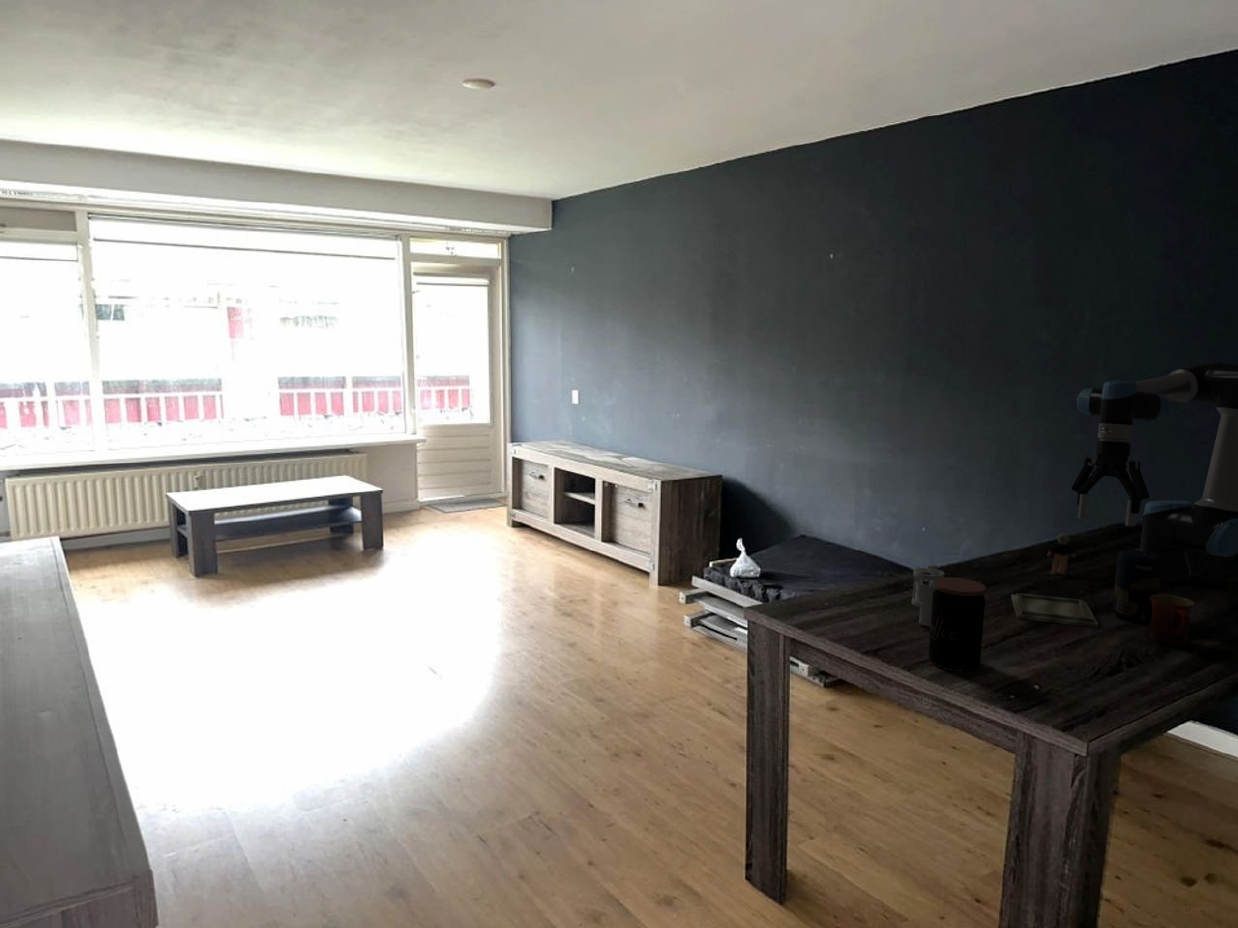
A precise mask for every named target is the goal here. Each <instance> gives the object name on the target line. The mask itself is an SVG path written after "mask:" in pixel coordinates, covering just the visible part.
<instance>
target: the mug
mask: <svg viewBox="0 0 1238 928" xmlns="http://www.w3.org/2000/svg"><path fill="white" fill-rule="evenodd" d="M1150 599H1151V604H1152V618H1151V621H1150V627H1149V634H1150V635H1149V636H1150V638H1151V639H1152V640H1153V641H1154V642H1155V643H1158V644H1161V645H1164V646H1170V647H1180V646H1183V645H1185V643H1186V641H1187V640H1188V633H1189V627H1190V621H1191V613H1192V611H1193V609H1194V607H1195V605H1196V604H1195V602H1194V601H1193V600H1191V599H1188V598H1186V597H1182V596H1177V595H1173V594H1160V593H1159V594H1157V595H1152V596H1150Z"/></svg>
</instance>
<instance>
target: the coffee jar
mask: <svg viewBox="0 0 1238 928" xmlns="http://www.w3.org/2000/svg"><path fill="white" fill-rule="evenodd" d="M933 581H934V582H933V586H934V588H935V590H934V591H933V595H932V609H931V624H930V627H929V638H928V639H929V640H928V641H929V642H928V654H927V655H928V658H929V659H930V661H931V660H932V661H931V663H932V662H933V663H935V664H936V665H939V666H941V667H943V668H947V669H952V670H962V671H965V672H968V671H967V670H972V669H974V670H976V669H977V668H978V666H979V665H980V664H981V658H982V657H981V655H982V645H983V643H982V642H983V632H984V618H985V617H984V616H985V607H986V605H985V604H986V599H985V596H984V594H985V593H986V591H987V588H986V586H985V585H984V584H983V583H981V582H980V581H979V582H978V581H975V580H972V579H969V578H963V577H948V576H946V577H944V578H939V579H936V580H933ZM933 663H932V664H933ZM935 664H934V665H935ZM936 665H935V666H936ZM941 667H940V668H941ZM943 668H942V669H943ZM947 669H946V670H947ZM972 671H973V670H972Z"/></svg>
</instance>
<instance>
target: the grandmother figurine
mask: <svg viewBox="0 0 1238 928" xmlns="http://www.w3.org/2000/svg"><path fill="white" fill-rule="evenodd" d="M1056 537H1057V539H1056V540H1057V541H1058V544H1055V545H1053V546H1052V547H1051V548H1050V549H1049V550H1048V553H1047V554H1046V556H1047V557H1051V556H1052V554H1053V553H1054V557H1053V560H1052V567H1051V570H1052V571H1050V574H1051V575H1056V576H1057V575H1058V574H1059V575H1061V576H1067V569H1068V568H1067V567H1068V559H1069V558H1068V557H1069V556H1068V554H1071V556H1072V558H1073V559H1075V558H1077V555H1076V552H1075V550H1074V548H1073V547H1072V546H1070V545H1067V544H1068V542H1070V537H1069V535H1067V534H1066V533H1063V532H1062V533H1059V534H1058V535H1057V536H1056Z"/></svg>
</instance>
